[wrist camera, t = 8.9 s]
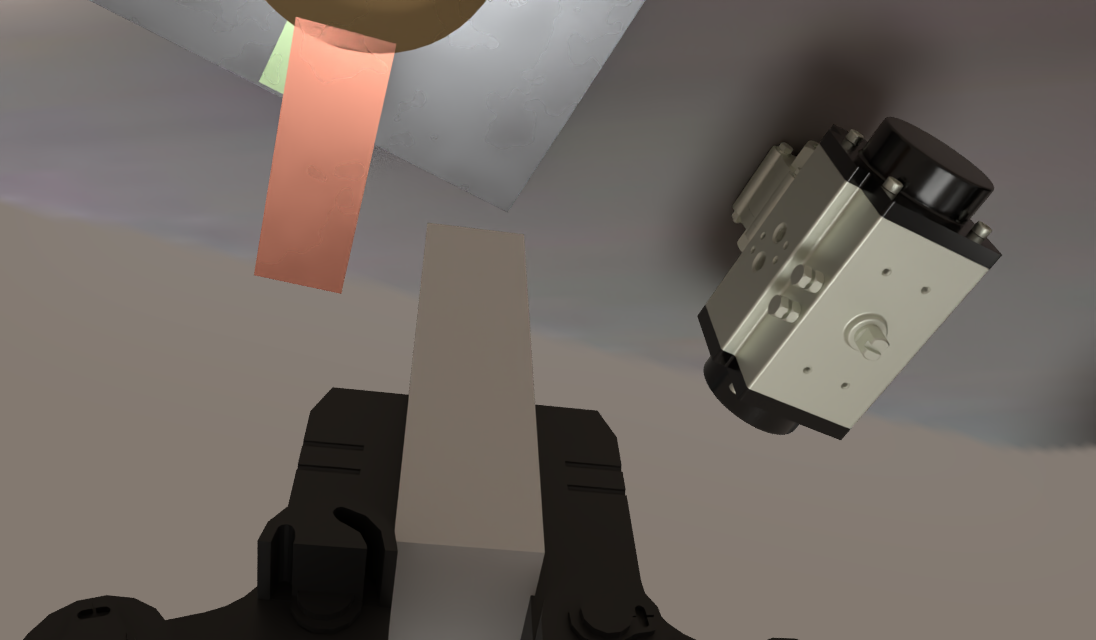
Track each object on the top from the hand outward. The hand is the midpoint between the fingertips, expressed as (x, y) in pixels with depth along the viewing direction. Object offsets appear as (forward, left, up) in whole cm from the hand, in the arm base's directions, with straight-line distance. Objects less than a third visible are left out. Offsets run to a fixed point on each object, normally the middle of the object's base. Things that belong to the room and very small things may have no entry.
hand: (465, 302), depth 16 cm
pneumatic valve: (-16, +2, -25) cm, 30 cm away
